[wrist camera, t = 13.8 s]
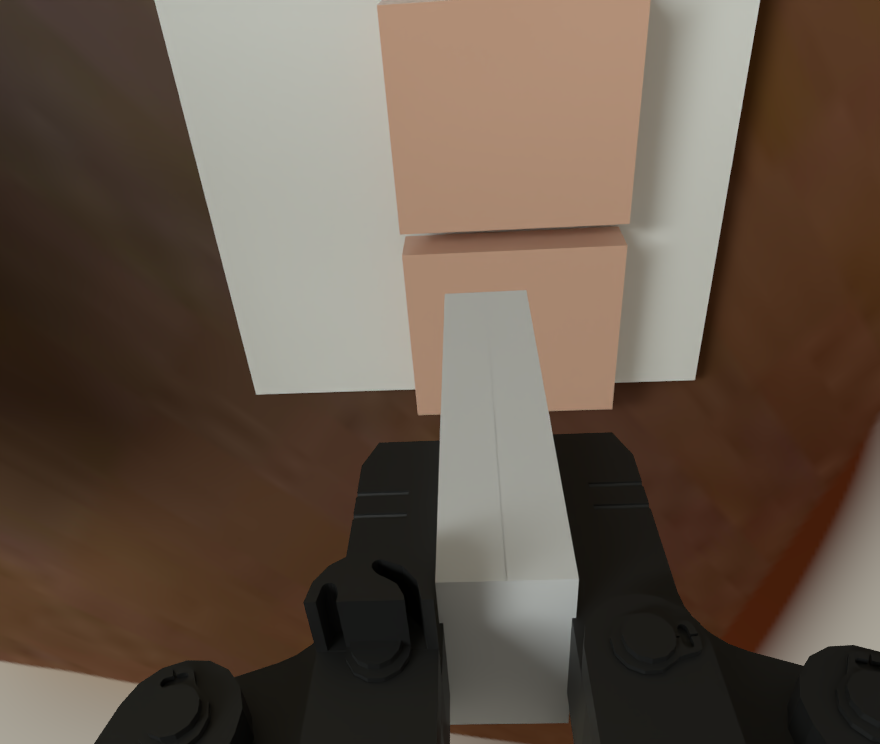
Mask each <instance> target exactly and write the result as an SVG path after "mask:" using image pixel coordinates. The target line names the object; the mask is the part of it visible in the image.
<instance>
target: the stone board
mask: <svg viewBox="0 0 880 744" xmlns="http://www.w3.org/2000/svg"><path fill="white" fill-rule="evenodd" d="M154 1H155V4H156V8H157V12H158V16H159V20H160V24H161V28H162V32H163V35H164V39H165V43H166V47H167V51H168V55H169V59H170V63H171V66H172V70H173V74H174V78H175V82H176V86H177V90H178V94H179V97H180V101H181V105H182V109H183V113H184V117H185V121H186V125H187V128H188V132H189V136H190V140H191V144H192V148H193V152H194V156H195V159H196V163H197V167H198V171H199V175H200V179H201V183H202V187H203V190H204V194H205V198H206V202H207V206H208V210H209V214H210V218H211V221H212V225H213V229H214V233H215V237H216V241H217V245H218V249H219V252H220V256H221V260H222V264H223V268H224V272H225V276H226V280H227V283H228V287H229V291H230V295H231V299H232V303H233V307H234V311H235V314H236V318H237V322H238V326H239V330H240V334H241V338H242V342H243V345H244V349H245V353H246V357H247V361H248V365H249V369H250V373H251V376H252V380H253V384H254V388H255V392H256V395H257V394H288V393H318V392H348V391H379V390H409V389H415V380H414V370H413V360H412V351H411V341H410V331H409V321H408V311H407V301H406V291H405V281H404V271H403V261H402V253H403V247H404V242H405V237H406V236H425V235H446V234H468V233H489V232H511V231H532V230H553V229H575V228H596V227H619V229H620V231H621V233H622V235H623V237H624V239H625V241H626V243H627V245H628V246H627V257H626V267H625V278H624V289H623V299H622V310H621V320H620V331H619V342H618V352H617V363H616V374H615V383H621V382H652V381H682V380H695V376H696V370H697V365H698V359H699V353H700V347H701V341H702V336H703V330H704V324H705V318H706V312H707V307H708V301H709V295H710V289H711V283H712V277H713V272H714V266H715V260H716V254H717V248H718V243H719V237H720V231H721V225H722V219H723V213H724V208H725V202H726V196H727V190H728V184H729V179H730V173H731V167H732V161H733V155H734V150H735V144H736V138H737V132H738V126H739V120H740V115H741V109H742V103H743V97H744V91H745V86H746V80H747V74H748V68H749V62H750V57H751V51H752V45H753V39H754V33H755V27H756V22H757V16H758V10H759V4H760V0H651V2H650V13H649V24H648V34H647V45H646V55H645V66H644V77H643V87H642V98H641V108H640V119H639V130H638V140H637V151H636V161H635V172H634V183H633V193H632V204H631V214H630V224H616V225H595V226H573V227H552V228H531V229H509V230H488V231H467V232H445V233H424V234H402V235H400V231H399V221H398V211H397V201H396V191H395V181H394V172H393V162H392V152H391V142H390V132H389V122H388V112H387V102H386V92H385V82H384V72H383V62H382V52H381V42H380V32H379V22H378V12H377V5H378V3H379V2H380V1H381V0H154Z"/></svg>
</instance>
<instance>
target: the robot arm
mask: <svg viewBox="0 0 880 744" xmlns="http://www.w3.org/2000/svg"><path fill="white" fill-rule="evenodd" d="M641 482H642V481H641V478H640V475H639V472H638V468H637V465H636V462H635V459H634V456H633V454H632V453H631V452H630V451H629V450H628V449H627V448H626V447H625V446H624V445H623V444H622V443H621V442H620V441H619V440H618V438H617V437H616V436H615V435H614V434H613V433H612V432H611V433H583V434H555V435H553V434H552V428H551V423H550V417H549V412H548V406H547V401H546V395H545V390H544V384H543V379H542V373H541V368H540V362H539V357H538V351H537V346H536V340H535V335H534V329H533V324H532V319H531V313H530V308H529V302H528V297H527V291H526V290H517V291H495V292H474V293H452V294H445V299H444V329H443V360H442V391H441V421H440V441H417V442H389V443H379V444H378V445H377V447H376V448H375V449H374V451H373V452H372V453H371V455H370V456H369V457H368V459H367V460H366V461H365V463H364V464H363V465H362V469H361V474H360V480H359V486H358V492H357V493H358V497H357V498H356V503H355V509H354V520H353V521H352V527H351V533H350V538H349V544H348V550H347V556H346V557H345V558H343V559H341V560H339V561H337V562H335V563H333V564H332V565H330V566H328V567H327V568H326V569H325V570H324V571H323V572H322V573H321V574H320V575H319V576H318V577H317V578H316V579H315V580H314V581H313V583H312V585H311V587H310V589H309V591H308V594H307V596H306V598H305V600H304V606H305V610H306V614H307V618H308V621H309V625H310V629H311V633H312V636H313V640H314V643H313V644H312V645H311V646H309V647H308V648H306V649H305V650H303V651H302V652H300V653H299V654H298V655H296V656H293V657H291V658H289V659H287V660H284V661H282V662H280V663H277V664H274V665H271V666H268V667H265V668H262V669H259V670H256V671H253V672H250V673H246V674H243V675H240V676H237V677H233V675H232V674H231V673H230V671H229V670H228V669H226V668H224V667H222V666H220V665H218V664H215V663H213V662H211V661H184V662H181V663H178V664H175V665H171V666H168V667H165V668H162V669H161V670H159V671H158V672H156V673H155V674H153V675H152V676H150V677H149V678H147V679H145V680H144V681H142V682H141V683H139V684H138V685H137V687H136V688H135V689H134V690H133V691H132V692H131V693H130V694H129V696H128V697H127V698H126V699H125V700H124V701H123V702H122V703H121V705H120V706H119V707H118V709H117V710H116V712H115V713H114V715H113V716H112V718H111V719H110V721H109V722H108V724H107V725H106V727H105V728H104V730H103V731H102V733H101V734H100V736H99V737H98V739H97V740H96V742H95V743H94V744H450V725H451V724H523V723H568V720H569V711H570V718H571V725H572V732H573V739H574V744H880V652H878V651H874V650H871V649H866V648H863V647H859V646H855V645H848V646H830V647H827V648H825V649H823V650H821V651H819V652H817V653H815V654H813V655H811V656H810V657H809V658H808V660H807V662H806V663H805V665H804V666H802V665H798V664H794V663H791V662H787V661H783V660H779V659H775V658H772V657H768V656H764V655H760V654H756V653H753V652H749V651H747V650H744V649H741V648H738V647H736V646H733V645H730V644H728V643H726V642H725V641H723V640H721V639H719V638H718V637H716V636H714V635H712V634H711V633H710V632H708V631H707V630H706V629H705V628H704V627H702V626H701V625H700V623H699V622H698V621H697V620H696V619H694V618H693V617H692V616H691V614H690V613H689V612H688V611H687V609H686V608H685V607H684V605H683V603H682V601H681V599H680V596H679V594H678V592H677V589H676V586H675V583H674V580H673V577H672V574H671V571H670V568H669V564H668V561H667V558H666V555H665V552H664V549H663V546H662V543H661V540H660V537H659V534H658V530H657V527H656V524H655V521H654V518H653V515H652V512H651V509H649V503H648V499H647V496H646V493H645V490H644V487H643V486H642V483H641Z"/></svg>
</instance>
